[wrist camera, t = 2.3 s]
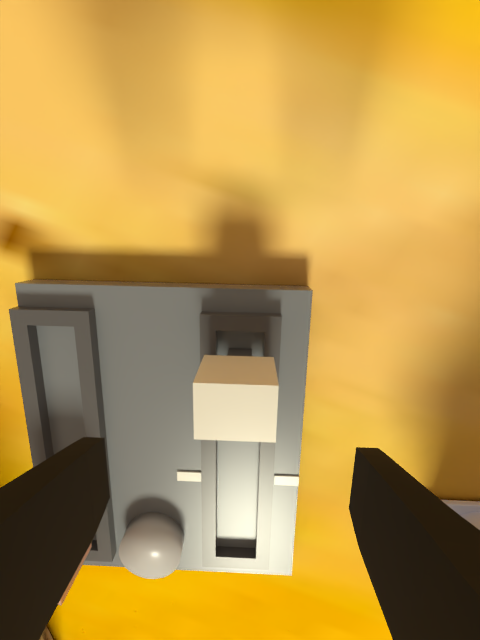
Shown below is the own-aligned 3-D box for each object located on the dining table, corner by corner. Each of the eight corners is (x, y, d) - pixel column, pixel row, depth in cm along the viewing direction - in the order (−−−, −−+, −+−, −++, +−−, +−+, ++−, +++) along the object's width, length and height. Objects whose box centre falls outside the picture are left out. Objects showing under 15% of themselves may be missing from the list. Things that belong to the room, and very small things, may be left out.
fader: (271, 343, 17) (278, 385, 12) (269, 387, 18) (275, 442, 13) (209, 342, 17) (192, 382, 12) (209, 385, 18) (193, 439, 13)
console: (307, 286, 18) (317, 294, 15) (288, 553, 22) (293, 595, 20) (33, 279, 18) (-3, 286, 16) (68, 542, 23) (45, 582, 20)
